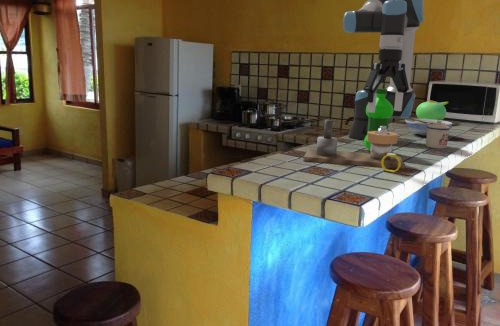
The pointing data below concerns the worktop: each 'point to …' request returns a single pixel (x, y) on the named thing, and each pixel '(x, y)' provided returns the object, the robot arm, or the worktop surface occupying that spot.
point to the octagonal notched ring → (382, 137)
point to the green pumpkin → (431, 110)
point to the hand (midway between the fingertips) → (384, 111)
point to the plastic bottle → (379, 114)
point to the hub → (380, 147)
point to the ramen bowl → (422, 125)
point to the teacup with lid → (437, 135)
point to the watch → (391, 156)
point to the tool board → (343, 153)
